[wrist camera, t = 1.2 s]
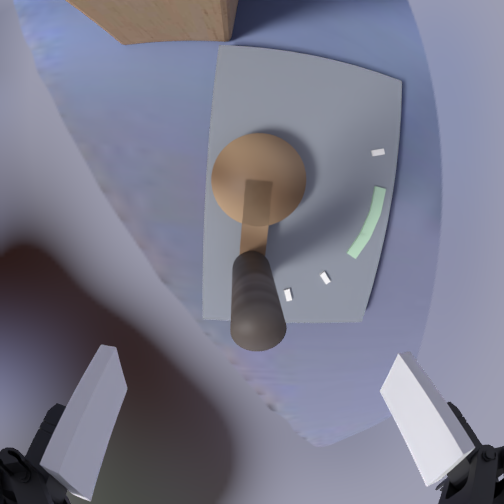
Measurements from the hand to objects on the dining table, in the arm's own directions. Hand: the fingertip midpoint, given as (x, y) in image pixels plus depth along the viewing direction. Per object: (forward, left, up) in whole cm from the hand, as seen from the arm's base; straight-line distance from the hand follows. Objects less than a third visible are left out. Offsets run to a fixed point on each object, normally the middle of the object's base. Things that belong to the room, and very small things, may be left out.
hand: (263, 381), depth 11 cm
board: (-6, +4, -15) cm, 16 cm away
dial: (-3, 0, -13) cm, 13 cm away
